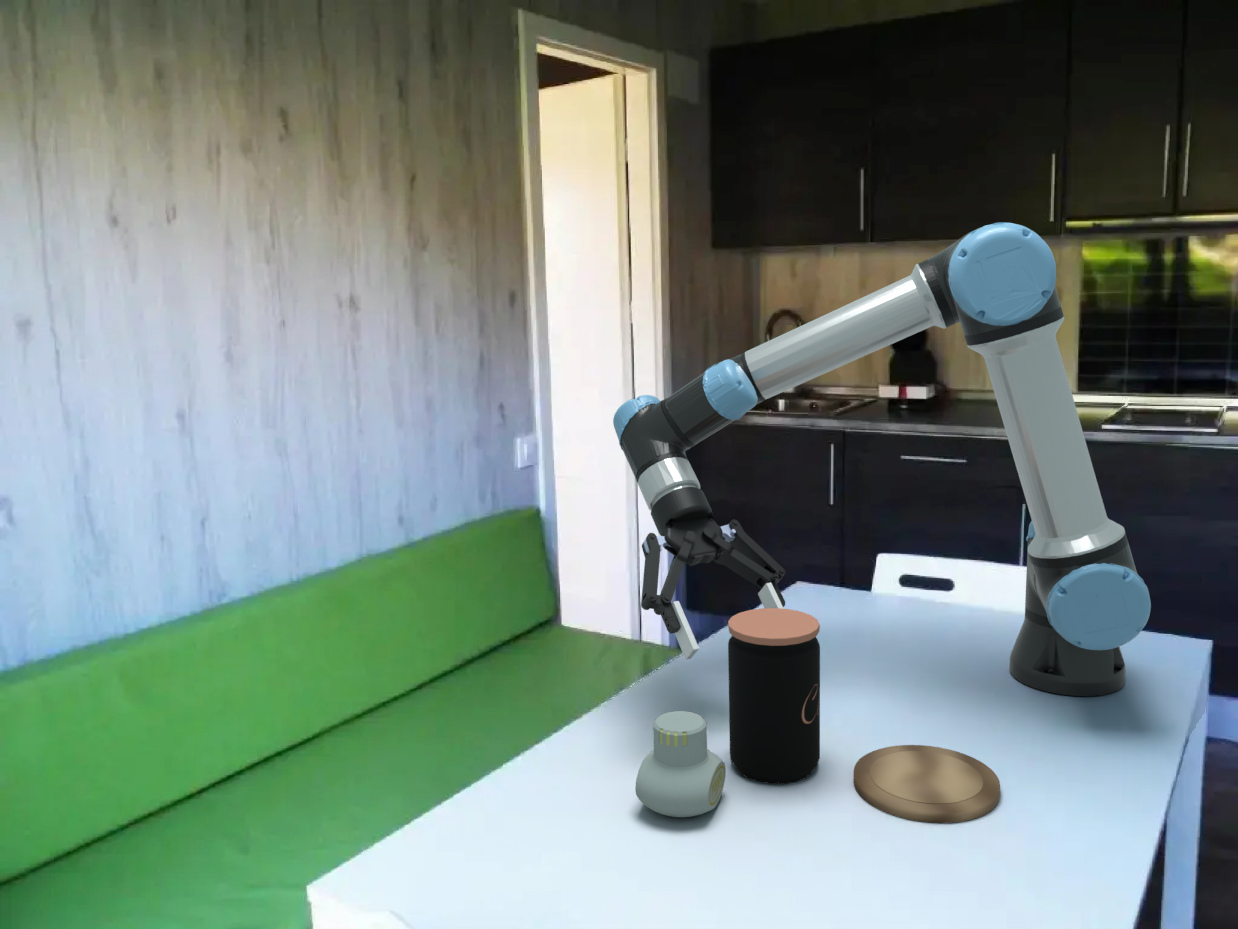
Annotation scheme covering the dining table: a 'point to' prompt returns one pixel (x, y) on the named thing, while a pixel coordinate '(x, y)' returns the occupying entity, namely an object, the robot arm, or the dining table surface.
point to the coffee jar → (774, 694)
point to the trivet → (926, 783)
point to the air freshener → (680, 768)
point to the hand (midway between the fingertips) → (740, 643)
